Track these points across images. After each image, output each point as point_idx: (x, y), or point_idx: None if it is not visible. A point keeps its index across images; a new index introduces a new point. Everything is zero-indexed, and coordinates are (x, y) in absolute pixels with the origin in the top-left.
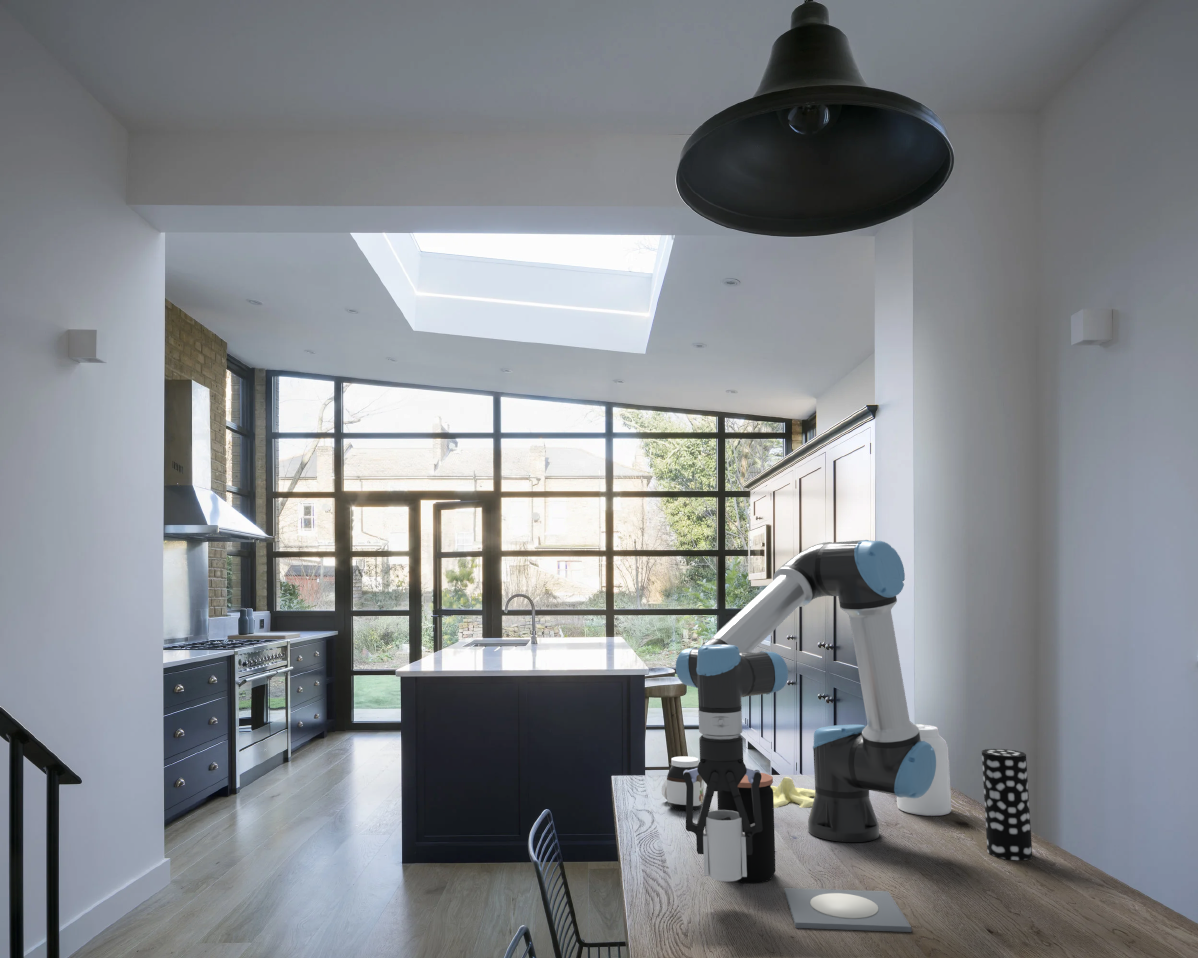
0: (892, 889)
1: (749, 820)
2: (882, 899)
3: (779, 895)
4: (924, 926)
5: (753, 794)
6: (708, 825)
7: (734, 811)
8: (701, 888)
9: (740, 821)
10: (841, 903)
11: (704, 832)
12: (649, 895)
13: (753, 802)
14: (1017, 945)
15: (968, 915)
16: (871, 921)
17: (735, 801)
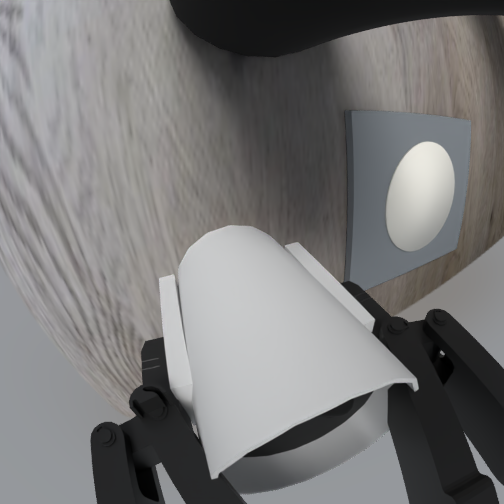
0: (469, 92)
1: (398, 14)
2: (462, 157)
3: (333, 131)
4: (464, 223)
5: (486, 457)
6: (234, 465)
7: (404, 379)
8: (124, 130)
9: (379, 421)
10: (424, 192)
11: (182, 394)
12: (21, 239)
13: (468, 437)
14: (489, 244)
15: (494, 178)
16: (433, 248)
17: (409, 490)
